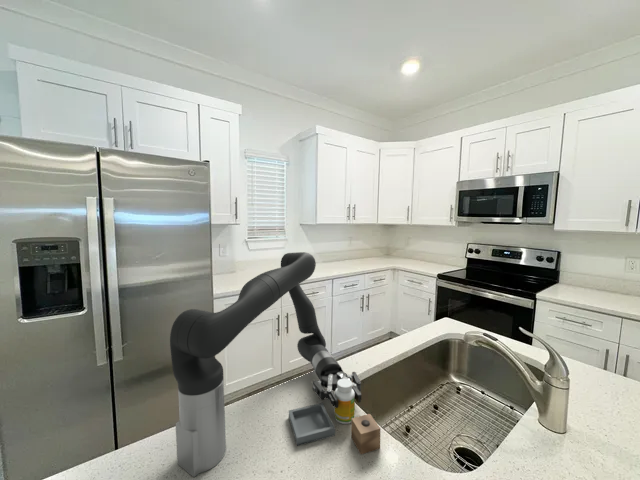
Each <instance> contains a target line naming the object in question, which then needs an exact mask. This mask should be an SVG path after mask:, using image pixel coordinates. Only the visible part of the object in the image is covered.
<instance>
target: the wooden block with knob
mask: <svg viewBox="0 0 640 480" xmlns="http://www.w3.org/2000/svg"><path fill="white" fill-rule="evenodd" d="M350 424H351V427H350V428H351V431H350V432H351V433H350V434H351V440H352V442H353V443H354V445H355V447H356V449H357V451H358V453H359V454H360V455H361V456H362V455H364V454H368V453H371V452H374V451H377V450H380V449H381V427H380V425H378V423H377V421H376V420H375V418H373V415H371V413H367V414H363V415H360V416H356V417H354V418H352V422H351V423H350Z"/></svg>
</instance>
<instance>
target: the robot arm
mask: <svg viewBox="0 0 640 480" xmlns="http://www.w3.org/2000/svg"><path fill="white" fill-rule="evenodd" d="M316 263H317V262H316V259H315V256H314V255H312V254H311V253H309V252H306V251H305V252H287V253H284V254H283V256H282V257H281V261H280V267H277V268H274V269H270V270H267V271H264V272H263V273H260V274H258V275H256V276H255V277H253V278H251V279H250V280H249V281H247V282H246V283H245V284H244V285H243V286H242V288H241V289H240V293H239V295H238V299H237V300H236V301H235V302H234V303H232V304H231V305H229V306H227V307H226V308H224V309H222V310H220V311H217V312H212V311H207V310H203V309H199V308H198V309H197V308H191V309H186V310H184V311H183V312H181V313H179V315H178V316H177V317H176V318H175V319H174V321H173V323H172V325H171V330H170V333H169V334H170V335H169V346H170V357H171V366H172V373H173V376H174V378H175V381H176V382H177V392H178V393H177V394H178V408H179V409H178V412H179V413H178V416H179V417H178V418H179V420H178V421H177V422H176V423H175V441H176V442H175V443H176V459H177V460H176V461H177V462H176V463H177V465H178V466H179V467H181V468H182V469H183V470H185V471H186V472H187V473H188V474H189V475H190V476H191V477H193V478H195V477H196V476H198V475H199V474H201V473H203V472H206V471H209V470H211V469H212V468H214V467H216V466H217V465H218V464H219V463H220V462H221V460H222V459H223V458H224V456H225V454H226V451H227V443H226V442H227V441H226V440H227V439H226V415H225V414H226V412H225V411H226V410H225V408H226V407H225V387H224V386H225V384H224V383H225V382H224V380H225V379H224V368H223V365H222V363H221V362H220V361H219V360H218V359H217V358H216V357H215V356H217V355H219V354H220V353H221V352H222V351H223V350H225V348H226V347H228V346H229V345H230V344H231V343H232V342H233V341H234V340H235V339H236V338H237V337H238V336H239V334H241V332H242V331H243V330H244V329H245V328H247V326H249V325H250V324H251V323H252V322H253V321H254V320H255V319H257V317H259V316H260V315H261V314H262V313H264V312H265V311H266V310H268V309H269V308H271V307H272V306H273V305H274V304H275V303H276V302H278V301H279V299H281V298H282V297H283V296H285V295H286V294H287V293H289V295H290V298H291V301H292V304H293V306H294V307H293V308H294V312H295V314H296V315H295V316H296V320H297V325H298V330H299V333H301V334H304V335H305V334H306V335H307V334H308V335H307V336H303V337H300V339H298V341H297V346H296V347H297V351H298V353H299V354H300V356H301V357H302V358H303V359H304V360H306V361H308V362H309V363H310V364H311V366H312V368H313V371H314V374H315V375H316V376H317V378H318V380H317V379H312V390H313V392H314V393H315V394H316V396H317V397H318V398H319V399H320V400H321V401H324V400H325V399H327V400H328V401H329V403H330V405H331V406H332V407H334V409H335V408H338V399H337V397H336V396H335V390H336V388H337V382H338V380H340V379H349V380H350V381H351V382H352V389H353V390H354V392H355V402H357V403H361V400H362V392H361V391H362V389H361V387H362V385H361V384H362V381H361V380H360V378H359V375H358V374H357V372H356V371H352V372H351V374H347V373H345V372H344V370H343V368H342V367H341V365H340V364H339V362H338V361H337V359H335V357H334V356H333V355H332V354H331V353H330V352H329V350H328V349H327V348H326V347H327V343H326V339H325V337H324V336H323V333H322V332H321V330H320V327H319V325H318V319H317V316H316V315H317V314H316V310H315V306H314V305H313V303H312V301H311V300H310V298H309V297H308V295H307V294H306V293H305V291H304V290H303V288H302V287H301V285H300V284H302V283H303V282H304V281H307V280H308V279H309V278H310V277H312V276H313V274H314V272H315V270H316V266H317V265H316ZM325 389H326V390H325Z"/></svg>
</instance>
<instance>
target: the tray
mask: <svg viewBox="0 0 640 480" xmlns="http://www.w3.org/2000/svg"><path fill="white" fill-rule="evenodd" d="M288 419H289V423H290V427H291V430H292V434H293V436H294V441H295V444H296V446H297V447H298V446H303V445H306V444H310V443H314V442H317V441H320V440H324V439H327V438H331V437H335V436H336V427H335V425H334V423H333V421H332V418H330V415H329V413H328V411H327V408H326V407H325V405H324V403H323V402H321V403H320V402H319V403H315V404H312V405H307V406H303V407H299V408H298V407H297V408H293V409H289V410H288Z"/></svg>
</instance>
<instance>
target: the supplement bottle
mask: <svg viewBox="0 0 640 480" xmlns="http://www.w3.org/2000/svg"><path fill="white" fill-rule="evenodd" d="M334 394H335V396H336V397H337V399H338V408H335V407H334V418H335V420H336V421H337V422H338V423H339V424H342V425H347V424H348V425H349V424H351V423H352V418H355V413H356V412H355V410H356V408H355V407H356V405H355V404H356V399H355V392H354V390H353V389H352V382H351V381H350V380H349V379H340V380H338V382H337V388H336V390H335V391H334Z"/></svg>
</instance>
